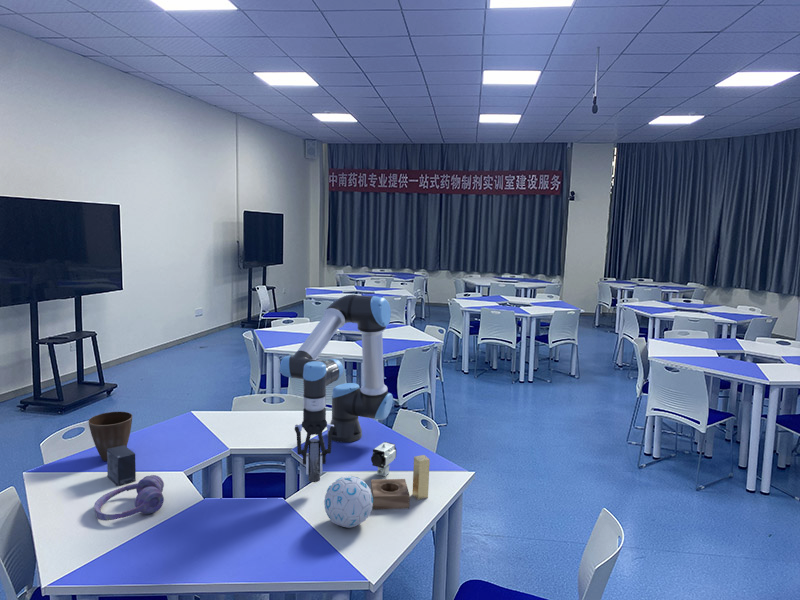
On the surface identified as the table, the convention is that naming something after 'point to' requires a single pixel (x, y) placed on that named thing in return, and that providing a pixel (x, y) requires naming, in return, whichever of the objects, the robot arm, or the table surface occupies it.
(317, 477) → the cylinder
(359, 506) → the puzzle ball
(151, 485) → the headphones
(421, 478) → the square bit
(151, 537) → the table surface
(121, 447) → the small box
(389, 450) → the pneumatic valve
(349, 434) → the robot arm
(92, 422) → the plant pot
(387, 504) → the bore block
